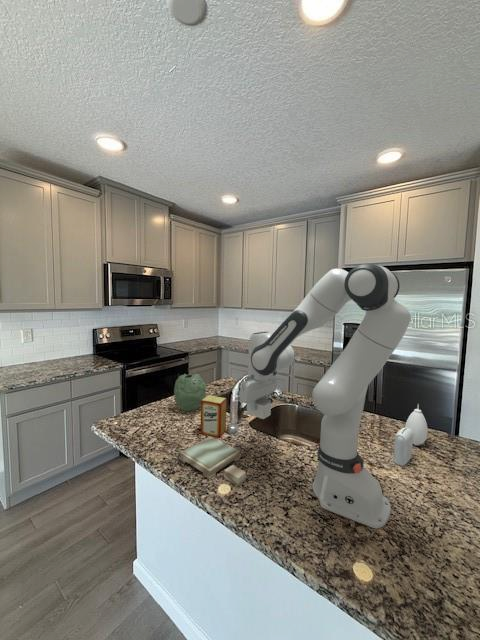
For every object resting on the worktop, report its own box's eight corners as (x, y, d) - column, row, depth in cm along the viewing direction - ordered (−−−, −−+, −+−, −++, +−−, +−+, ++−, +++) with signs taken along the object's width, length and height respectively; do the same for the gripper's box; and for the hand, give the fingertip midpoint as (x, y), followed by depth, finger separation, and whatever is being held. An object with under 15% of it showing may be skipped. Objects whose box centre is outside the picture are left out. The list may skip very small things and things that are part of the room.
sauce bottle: (411, 438, 122) (414, 399, 120) (430, 446, 115) (433, 405, 113) (400, 441, 118) (403, 401, 117) (418, 451, 111) (422, 408, 110)
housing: (270, 415, 106) (271, 400, 105) (263, 419, 102) (263, 403, 101) (254, 409, 111) (254, 395, 110) (246, 413, 107) (246, 398, 106)
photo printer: (400, 452, 110) (403, 423, 109) (412, 457, 107) (415, 427, 106) (391, 462, 103) (393, 431, 102) (404, 468, 100) (406, 435, 99)
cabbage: (182, 402, 156) (182, 368, 154) (211, 407, 149) (212, 372, 147) (165, 412, 141) (166, 375, 139) (197, 419, 135) (198, 380, 133)
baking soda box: (225, 431, 123) (226, 397, 122) (220, 438, 117) (220, 402, 116) (206, 427, 126) (207, 394, 125) (200, 434, 120) (201, 399, 119)
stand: (240, 458, 103) (240, 450, 103) (209, 479, 91) (209, 470, 90) (210, 443, 113) (210, 435, 113) (179, 460, 101) (179, 451, 101)
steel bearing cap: (239, 432, 123) (240, 425, 123) (232, 436, 120) (232, 429, 119) (231, 428, 127) (231, 422, 126) (224, 432, 123) (224, 425, 123)
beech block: (245, 480, 91) (245, 472, 91) (237, 486, 88) (238, 478, 88) (232, 472, 95) (232, 464, 95) (224, 478, 92) (224, 470, 91)
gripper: (249, 380, 95) (248, 418, 96) (280, 369, 111) (279, 402, 112) (235, 376, 99) (235, 413, 100) (267, 366, 115) (266, 398, 116)
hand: (258, 407), depth 106 cm, fingers closed on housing, 5 cm apart
